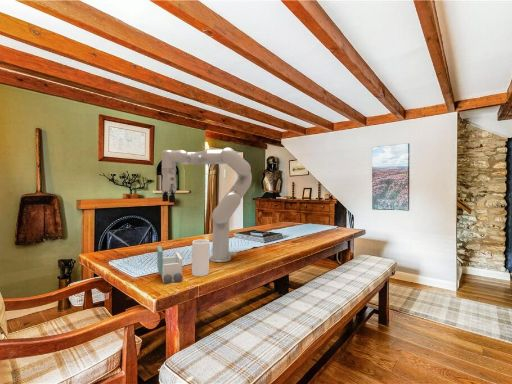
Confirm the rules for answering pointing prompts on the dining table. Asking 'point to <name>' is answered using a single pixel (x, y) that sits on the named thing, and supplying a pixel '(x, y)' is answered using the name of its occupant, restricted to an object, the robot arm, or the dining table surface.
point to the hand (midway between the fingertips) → (168, 202)
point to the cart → (172, 269)
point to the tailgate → (160, 259)
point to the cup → (200, 257)
